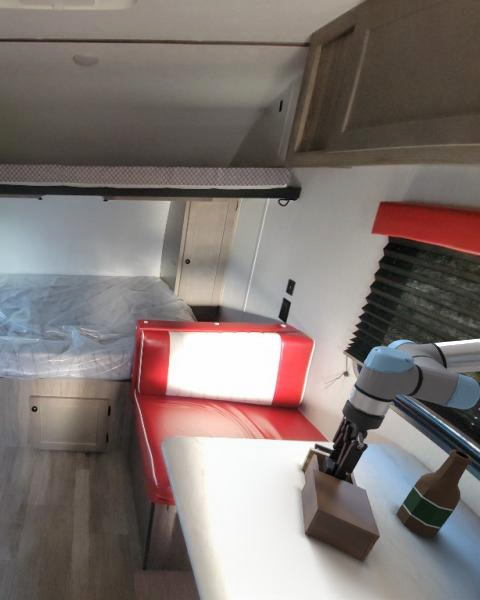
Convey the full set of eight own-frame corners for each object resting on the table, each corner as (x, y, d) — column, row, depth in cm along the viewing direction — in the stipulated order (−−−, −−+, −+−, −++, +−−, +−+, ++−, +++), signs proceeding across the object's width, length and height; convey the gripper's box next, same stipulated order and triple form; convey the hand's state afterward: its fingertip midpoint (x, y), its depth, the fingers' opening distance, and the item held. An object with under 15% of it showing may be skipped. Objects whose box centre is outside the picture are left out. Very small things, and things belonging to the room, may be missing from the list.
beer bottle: (397, 527, 84) (444, 456, 75) (391, 505, 90) (435, 436, 81) (439, 548, 80) (494, 475, 71) (430, 523, 86) (480, 452, 77)
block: (338, 475, 91) (345, 463, 89) (341, 487, 87) (348, 475, 85) (319, 468, 92) (325, 456, 91) (321, 479, 89) (327, 467, 87)
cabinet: (300, 493, 90) (312, 468, 87) (350, 515, 86) (365, 489, 82) (303, 536, 79) (317, 508, 76) (362, 564, 75) (380, 536, 71)
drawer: (300, 456, 102) (308, 436, 99) (339, 471, 98) (350, 451, 95) (304, 499, 88) (314, 477, 85) (351, 519, 84) (363, 498, 81)
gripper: (396, 435, 72) (354, 510, 81) (376, 394, 87) (342, 461, 95) (354, 421, 75) (318, 494, 84) (341, 384, 90) (311, 449, 98)
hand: (331, 476), depth 90 cm, fingers closed on block, 4 cm apart
